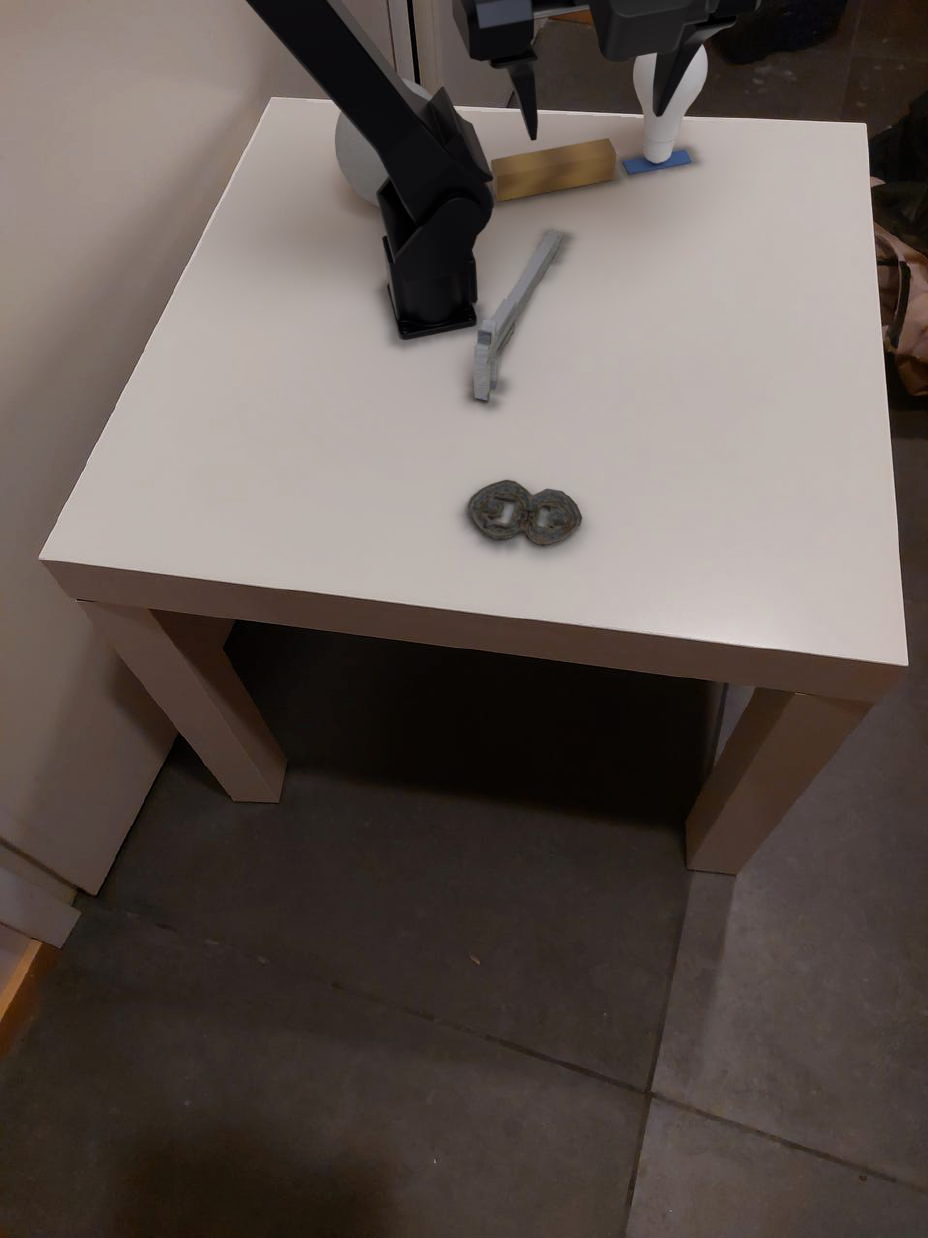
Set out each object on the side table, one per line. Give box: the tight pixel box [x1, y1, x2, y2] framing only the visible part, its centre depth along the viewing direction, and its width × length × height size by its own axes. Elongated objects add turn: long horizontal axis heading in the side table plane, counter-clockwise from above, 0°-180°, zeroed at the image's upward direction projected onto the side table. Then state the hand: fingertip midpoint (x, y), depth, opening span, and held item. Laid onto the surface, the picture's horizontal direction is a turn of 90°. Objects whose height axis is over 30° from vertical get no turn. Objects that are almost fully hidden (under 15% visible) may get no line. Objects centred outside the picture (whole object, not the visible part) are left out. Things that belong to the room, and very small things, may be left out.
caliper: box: [472, 230, 564, 401], centre depth 67 cm, size 20×1×6 cm, turn 160°
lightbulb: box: [632, 43, 709, 164], centre depth 73 cm, size 6×6×11 cm
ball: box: [334, 77, 433, 207], centre depth 74 cm, size 10×10×10 cm
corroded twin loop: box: [467, 479, 583, 546], centre depth 59 cm, size 5×8×1 cm, turn 76°
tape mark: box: [622, 148, 692, 175], centre depth 78 cm, size 6×2×1 cm, turn 102°
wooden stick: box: [490, 137, 618, 202], centre depth 77 cm, size 11×2×2 cm, turn 102°
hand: (594, 125), depth 60 cm, fingers open, 9 cm apart
